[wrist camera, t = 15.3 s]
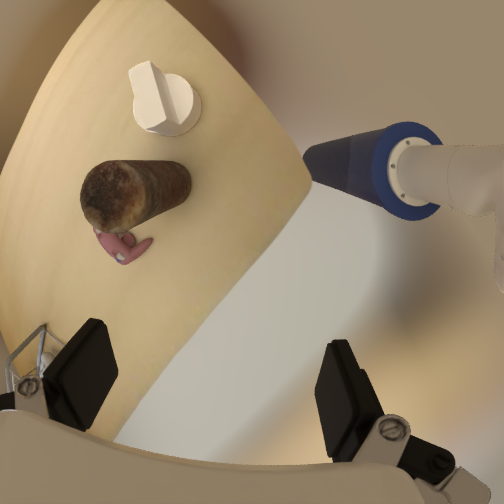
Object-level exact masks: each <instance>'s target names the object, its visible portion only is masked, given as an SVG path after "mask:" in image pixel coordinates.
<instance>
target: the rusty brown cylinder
mask: <svg viewBox="0 0 504 504" xmlns="http://www.w3.org/2000/svg"><path fill="white" fill-rule="evenodd" d="M190 186H191V181H190V176H189V173H188V171H187V170H186V169H185V168H184V167H183V166H182V165H181V164H179V163H176V162H173V161H154V160H153V161H152V160H150V161H144V160H112V161H106V162H103V163H101V164H99V165H97V166H96V167H94V168H93V169H92V170H91V171H90V172H89V173H88V174H87V176H86V178H85V180H84V183H83V185H82V189H81V193H80V202H81V206H82V210H83V212H84V215H85V218H86V219H87V220H88V222H89V223H90V224H91V225H92V226H93V227H94V228H96V229H97V230H100V231H102V232H104V233H111V234H116V233H121V232H125V231H128V230H130V229H131V228H133V227H135V226H137V225H139V224H141V223H143V222H145V221H147V220H149V219H151V218H153V217H155V216H157V215H159V214H161V213H163V212H165V211H167V210H169V209H172V208H174V207H176V206H178V205H180V204H181V203H183V202H184V201H185V200H186V198H187V197H188V195H189V192H190Z"/></svg>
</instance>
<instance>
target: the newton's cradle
mask: <svg viewBox="0 0 504 504" xmlns="http://www.w3.org/2000/svg"><path fill="white" fill-rule="evenodd" d="M40 332H41V335H40V342H39V350H38V358H37V367H36V368H37V369H36V368H35V369H36V376H38V377H40V378H41V379H42V378H43V374H42V373H43V372H44V371H45V369H46V368H47V367H48V366H49V364H50V363H51V362H52V361H53V360H54V357H53V355H52V354H51V353H49V352H45V353H43V354H42V347H43V341H44V335H45V332H46V333H47V334H49V335H50V336H51V337H52V338H53V339H55V340H56V341H57V342H58V343H59V344H61V345H62V346H63V347H64V345H63V344H62V343H60V342H59V341H58V340H57V339H56V338H54V337H53V336H52V335H51V334H50V333H48V332H47V331H46V330H45V326H44V325H41V326H39V327H38V328H37V329H36V330H35V331H34V332H33V333H32V334H31V335H30V336H29V337H28V338H27V339H26V340H25V341H24V342H23V343H22V344H21V345H20V346H19V347H18V348H17V349H16V350H15V351H14V352H13V353H12V354H11V355H10V356H9V358H8V359H7V361H6V363H5V373H6V383H7V391H8V393H9V392H11V385H10V373H9V371H10V372H11V373H12V381H13V391H15V388H14V384H16V383H17V382H16V383H14V375H15V376H16V377H17V378H18V379H20V378H19V377H18V376H17V375H16V374H15V373H13V372H12V371H11V370H10V369H9V366H10V364H11V362H12V361H13V360H14V358H15V357H16V356H17V355H18V354H19V353H20V352H21V351H22V350H23V349H24V348H25V347H26V346H27V345H28V344H29V343H30V342H31V341H32V340H33V339H34V338H35V337H36V336H37V335H38V334H39V333H40ZM41 354H42V356H41ZM41 360H42V362H41ZM40 362H41V364H40ZM40 367H41V369H40ZM35 369H33V370H35ZM33 370H32V371H33ZM32 371H31V372H32ZM39 371H40V372H39ZM31 372H29V373H31ZM29 373H28V374H29ZM39 373H40V376H39ZM28 374H27V375H28ZM25 376H26V375H25Z"/></svg>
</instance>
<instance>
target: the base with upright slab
mask: <svg viewBox="0 0 504 504" xmlns="http://www.w3.org/2000/svg"><path fill="white" fill-rule="evenodd" d="M128 74H129V78H130V82H131V85H132V89H133V93H134V97H135V98H134V102H133V114H134V117H135V120H136V122H137V123H138V124H139V125H140V127H141V128H143V129H145V130H146V131H148V132H152V133H156V134H160V135H164V136H178V135H182V134H184V133H186V132H188V131H189V130H190V129H191V128H192V127H194V125H195V124H196V123H197V121H198V120H199V117H200V114H201V108H202V105H201V99H200V97H199V95H198V93H197V92H196V91H195V90H194V89H193V88H192V86H191V85H190V84H189V83H188V82H187V81H186V80H185V79H184V78H182V77H180V76H178V75H175V74H170V73H169V74H164V73H163V72H162V71H161V70H160V69H158V68H157V67H156V66H155V65H154V64H153V63H152V62H150V61H146V62H143V63H140V64H138V65H136V66H134V67H133V68H131V69H130V70H129V71H128Z"/></svg>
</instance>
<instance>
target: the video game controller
mask: <svg viewBox="0 0 504 504" xmlns="http://www.w3.org/2000/svg"><path fill="white" fill-rule="evenodd" d="M93 230H94V232H95V234H96V236H97V239H98V241H99V242H100V244H101V245H102V247H103V248H104V249H105V250H106V252H107V253H108V254H109V255H111V256H112V257H113V258H115V259H116V261H117V262H118V263H120V264H122V265H126V264H129V263H130V262H132V261H133V260H135V259H136V258H138V257H139V256H140V255H141V254H142V253H143V252H144V251H145V250H146V249H147V248H148V247H149V246H150V244H151V243H152V239H151V238H148V239H146V240H144V241H142V242H141V243H140V244H138V245H136V246H134V247H133V244H134V237H133V236H132V235H131V234H128V233H127V234H125V235H124V236H123V237H122V238H121V239H120V237H119V236H118V235H117V233H116V234H111V233H104V232H102V231H100V230H97V229H96V228H94V227H93Z"/></svg>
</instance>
